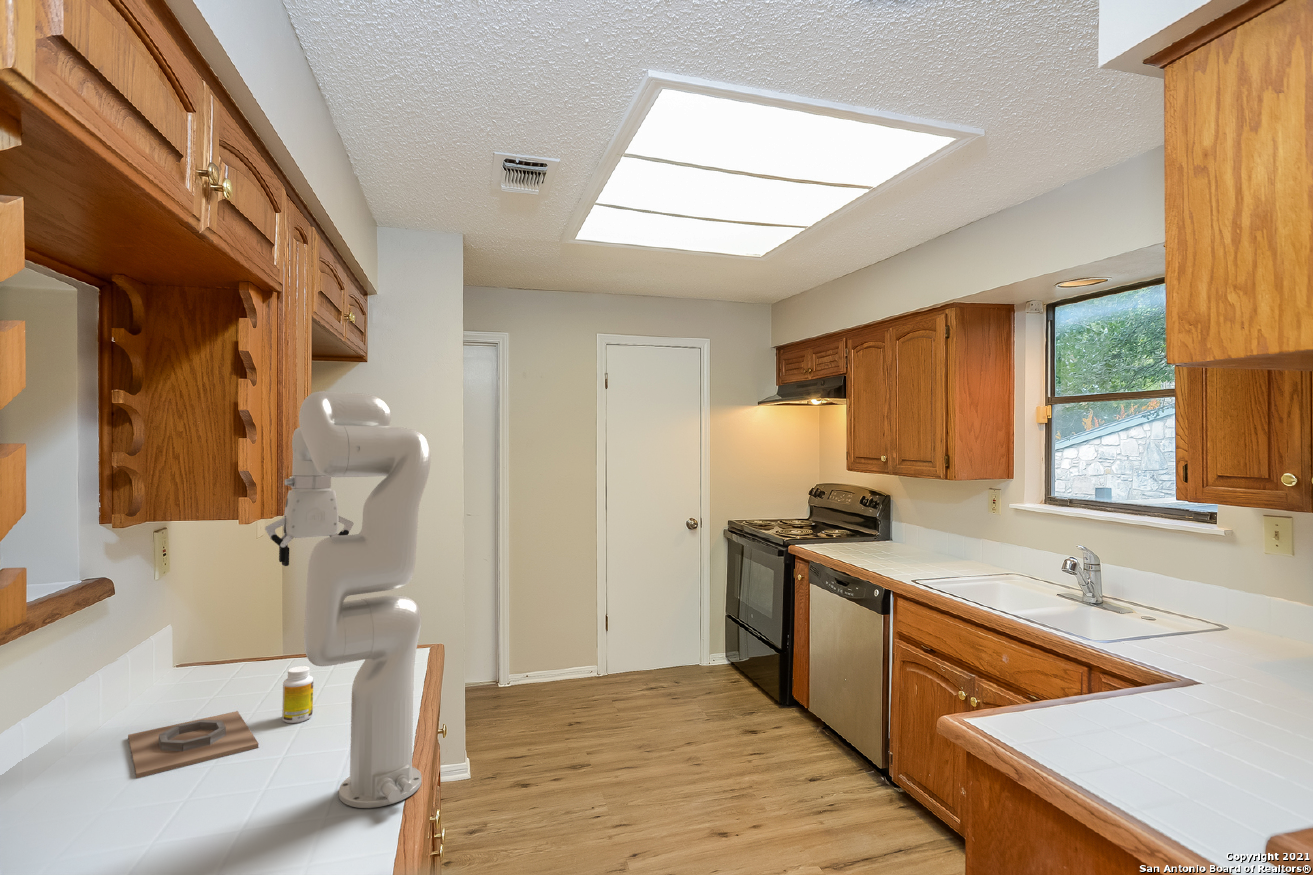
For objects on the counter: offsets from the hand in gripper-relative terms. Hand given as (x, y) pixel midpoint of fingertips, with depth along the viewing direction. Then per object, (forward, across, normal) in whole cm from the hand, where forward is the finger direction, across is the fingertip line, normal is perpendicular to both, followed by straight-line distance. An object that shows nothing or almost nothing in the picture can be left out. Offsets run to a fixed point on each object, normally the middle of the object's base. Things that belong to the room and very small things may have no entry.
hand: (310, 562), depth 144 cm
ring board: (+31, -21, -5) cm, 38 cm away
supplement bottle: (+31, -3, -5) cm, 32 cm away
